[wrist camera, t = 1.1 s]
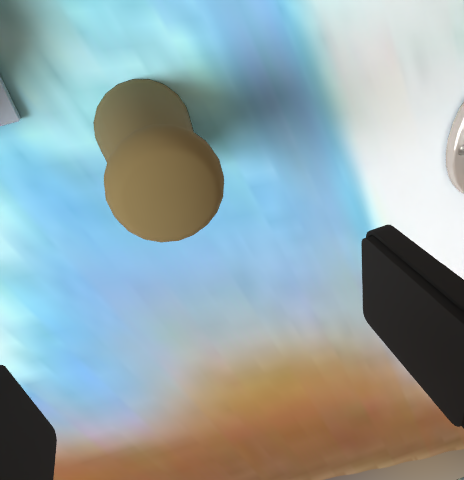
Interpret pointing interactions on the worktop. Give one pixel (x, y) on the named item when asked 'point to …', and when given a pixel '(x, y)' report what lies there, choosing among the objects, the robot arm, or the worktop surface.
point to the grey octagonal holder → (7, 107)
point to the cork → (156, 162)
